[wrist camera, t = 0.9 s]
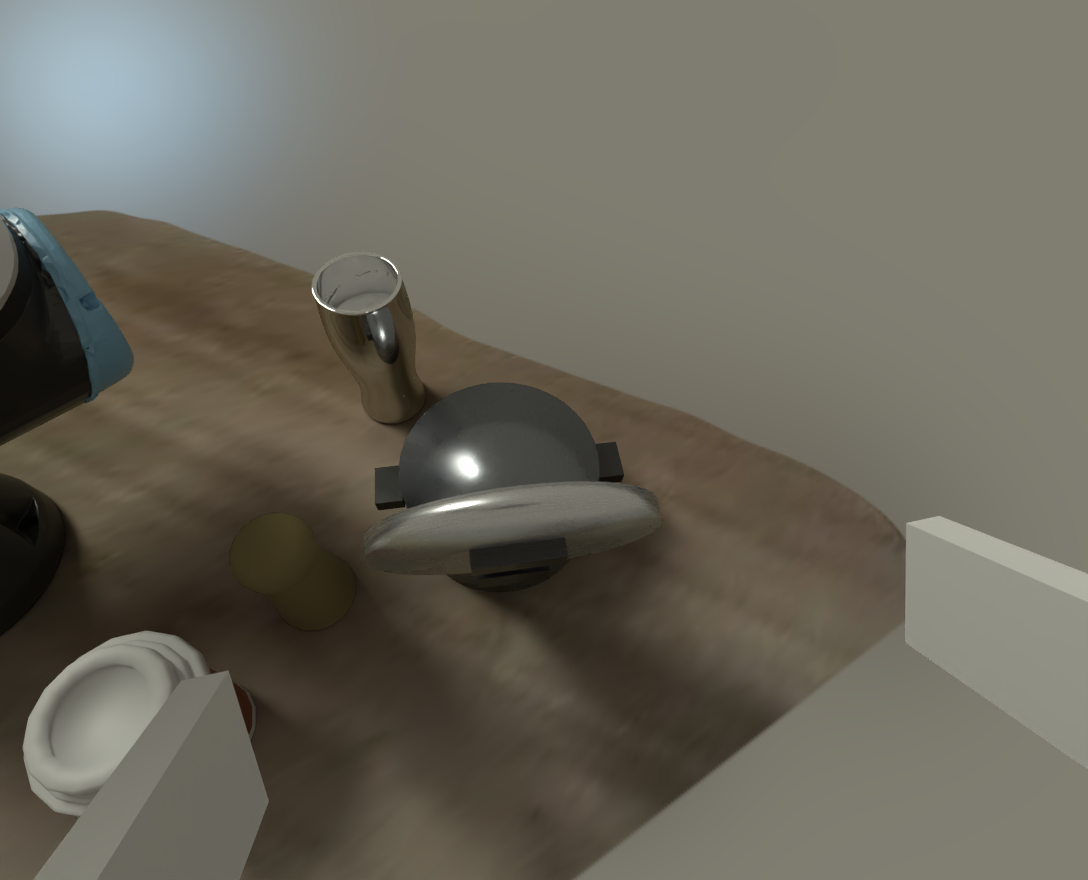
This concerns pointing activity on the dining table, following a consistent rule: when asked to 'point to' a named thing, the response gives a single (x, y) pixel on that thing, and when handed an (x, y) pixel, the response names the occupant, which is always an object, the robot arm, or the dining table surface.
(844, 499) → the dining table surface
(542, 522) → the lid
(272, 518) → the cork
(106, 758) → the coffee cup
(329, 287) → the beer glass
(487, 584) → the cooker pot
